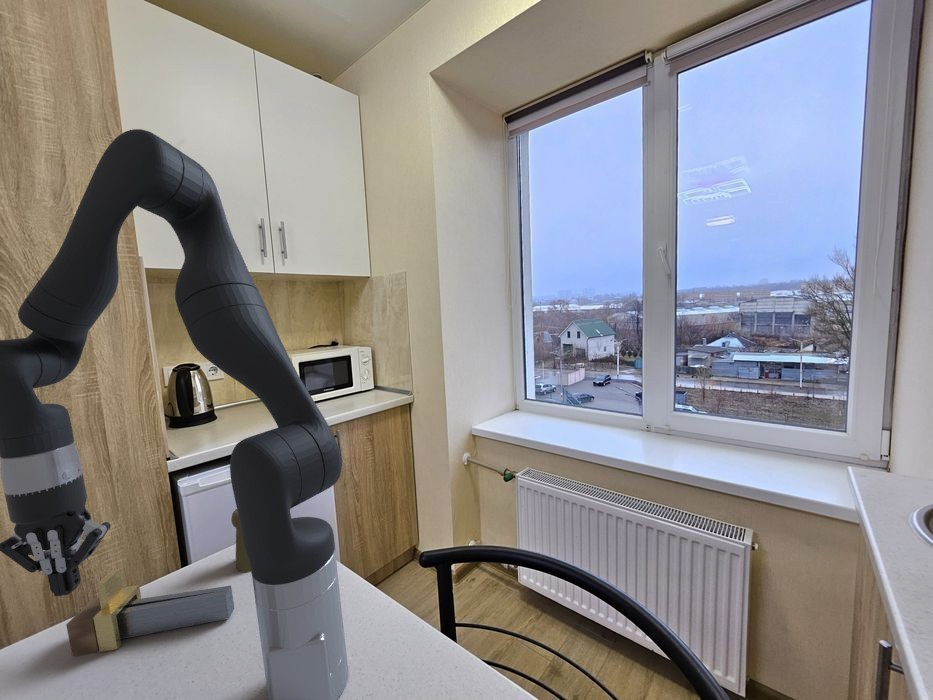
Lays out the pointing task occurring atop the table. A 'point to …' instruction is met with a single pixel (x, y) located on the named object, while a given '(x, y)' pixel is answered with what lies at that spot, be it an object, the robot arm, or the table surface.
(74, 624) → the block
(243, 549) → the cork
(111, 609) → the collar
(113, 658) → the table surface
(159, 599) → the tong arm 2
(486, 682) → the table surface
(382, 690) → the table surface
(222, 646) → the table surface
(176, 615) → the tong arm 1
